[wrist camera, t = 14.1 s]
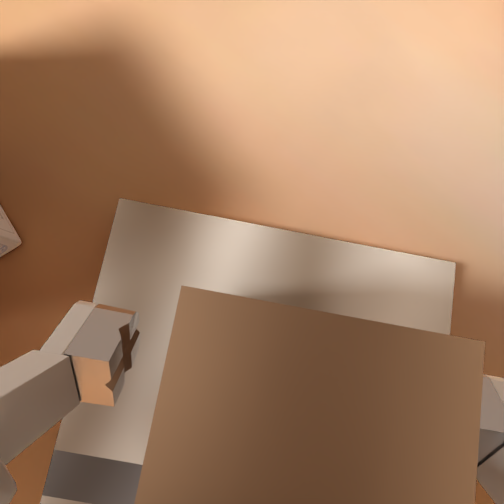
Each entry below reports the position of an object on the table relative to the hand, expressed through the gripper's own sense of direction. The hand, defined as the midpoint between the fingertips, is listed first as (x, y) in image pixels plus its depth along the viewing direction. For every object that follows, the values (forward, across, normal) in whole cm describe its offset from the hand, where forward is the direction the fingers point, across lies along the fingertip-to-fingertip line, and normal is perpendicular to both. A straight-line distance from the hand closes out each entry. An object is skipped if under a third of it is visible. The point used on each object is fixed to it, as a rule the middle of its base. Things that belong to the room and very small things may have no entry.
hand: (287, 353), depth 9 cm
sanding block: (+2, 0, +4) cm, 4 cm away
